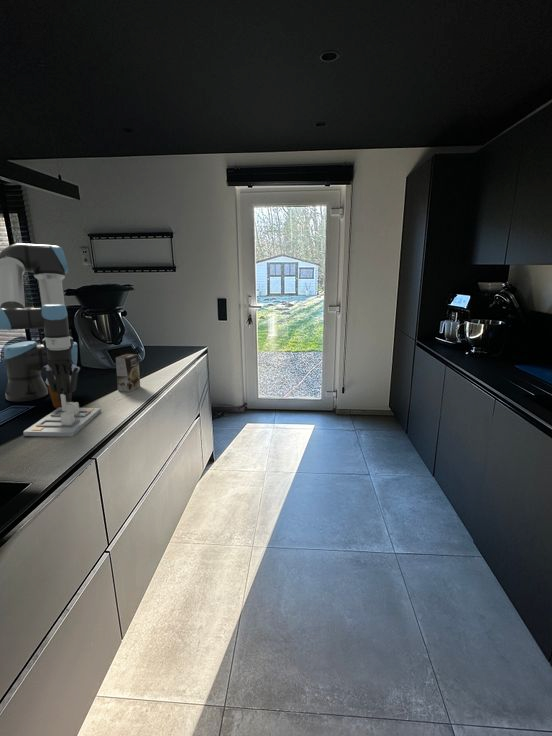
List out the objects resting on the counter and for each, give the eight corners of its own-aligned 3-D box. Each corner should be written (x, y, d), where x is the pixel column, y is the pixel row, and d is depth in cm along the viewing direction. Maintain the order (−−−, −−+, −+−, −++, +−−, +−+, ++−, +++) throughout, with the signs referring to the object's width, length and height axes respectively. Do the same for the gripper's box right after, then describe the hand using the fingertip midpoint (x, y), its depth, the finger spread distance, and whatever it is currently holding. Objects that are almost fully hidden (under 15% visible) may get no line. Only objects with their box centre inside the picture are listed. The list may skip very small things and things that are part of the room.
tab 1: (67, 415, 133) (65, 405, 131) (71, 412, 135) (70, 402, 134) (75, 415, 133) (74, 405, 132) (79, 412, 136) (78, 402, 135)
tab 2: (61, 425, 124) (60, 414, 123) (66, 421, 127) (65, 411, 126) (70, 425, 124) (69, 414, 123) (75, 422, 127) (73, 411, 126)
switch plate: (23, 435, 119) (22, 430, 119) (59, 410, 140) (58, 406, 140) (72, 436, 120) (72, 431, 119) (100, 411, 141) (100, 406, 141)
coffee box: (129, 392, 164) (127, 358, 160) (117, 390, 165) (114, 357, 161) (141, 386, 173) (138, 354, 169) (129, 385, 174) (126, 353, 170)
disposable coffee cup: (56, 411, 140) (52, 382, 137) (44, 406, 144) (40, 377, 141) (80, 404, 148) (77, 376, 144) (67, 399, 152) (64, 372, 149)
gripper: (33, 349, 123) (42, 413, 129) (71, 350, 124) (79, 413, 130) (46, 345, 131) (54, 405, 137) (82, 346, 131) (88, 406, 137)
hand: (66, 409), depth 133 cm, fingers closed
